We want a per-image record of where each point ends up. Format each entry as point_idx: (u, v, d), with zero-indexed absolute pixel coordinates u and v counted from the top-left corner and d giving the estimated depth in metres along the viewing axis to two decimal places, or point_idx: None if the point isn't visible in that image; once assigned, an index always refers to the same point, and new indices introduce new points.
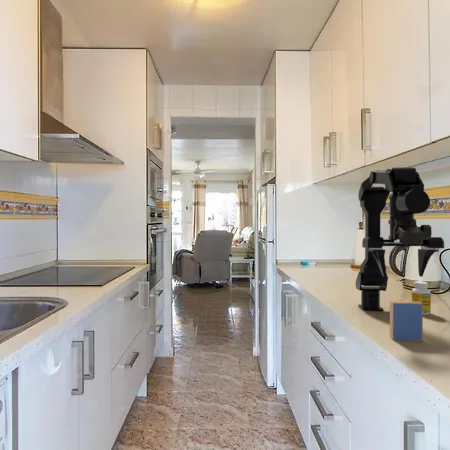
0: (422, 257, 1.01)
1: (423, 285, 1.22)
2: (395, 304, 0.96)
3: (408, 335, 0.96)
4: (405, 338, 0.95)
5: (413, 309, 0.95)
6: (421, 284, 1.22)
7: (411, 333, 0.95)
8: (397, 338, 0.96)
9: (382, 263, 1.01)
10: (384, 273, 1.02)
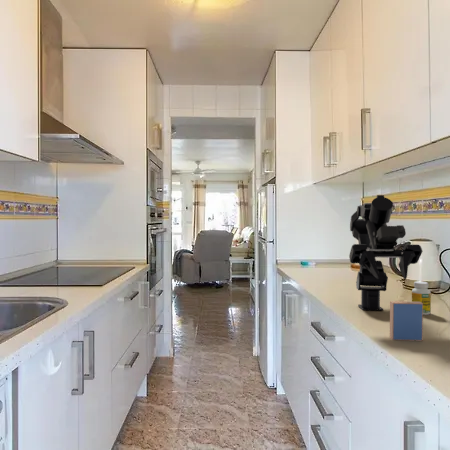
0: (402, 262, 1.09)
1: (423, 285, 1.22)
2: (395, 304, 0.96)
3: (408, 335, 0.96)
4: (405, 338, 0.95)
5: (413, 309, 0.95)
6: (421, 284, 1.22)
7: (411, 333, 0.95)
8: (397, 338, 0.96)
9: (373, 265, 1.08)
10: (377, 274, 1.07)
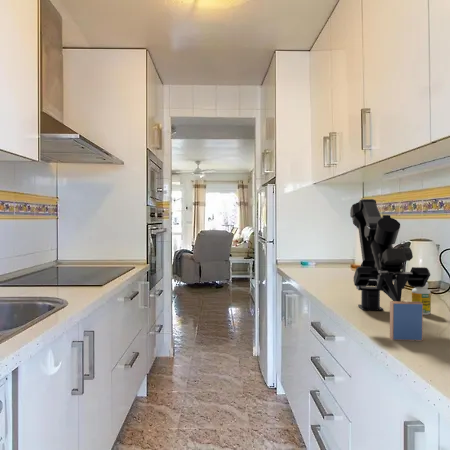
0: (396, 286, 1.05)
1: None
2: (395, 304, 0.96)
3: (408, 335, 0.96)
4: (405, 338, 0.95)
5: (413, 309, 0.95)
6: None
7: (411, 333, 0.95)
8: (397, 338, 0.96)
9: (392, 289, 1.03)
10: (397, 299, 1.02)
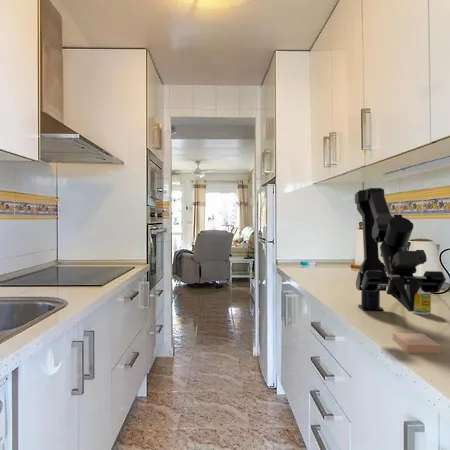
0: (408, 292, 0.96)
1: None
2: None
3: None
4: None
5: None
6: None
7: None
8: None
9: (405, 295, 0.95)
10: (410, 306, 0.93)
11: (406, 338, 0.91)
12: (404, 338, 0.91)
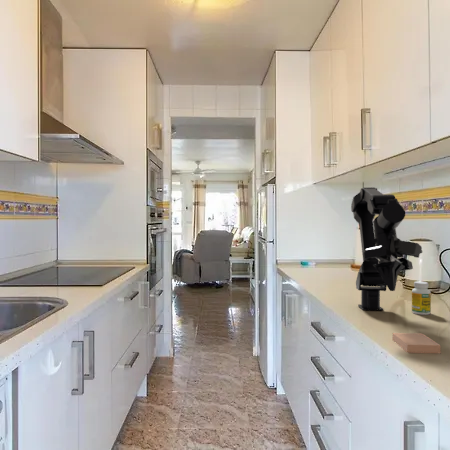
0: None
1: (423, 285, 1.22)
2: None
3: None
4: None
5: None
6: (421, 284, 1.22)
7: None
8: None
9: (393, 277, 1.06)
10: (394, 287, 1.06)
11: (406, 338, 0.91)
12: (404, 338, 0.91)
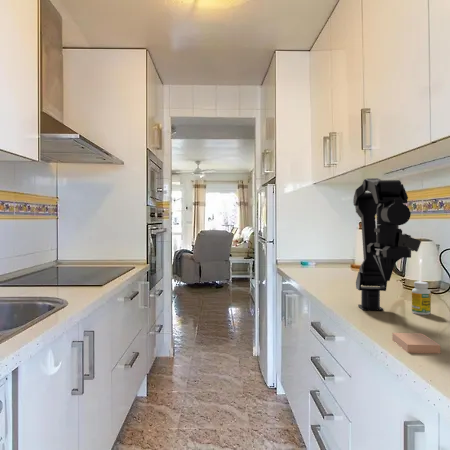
0: None
1: (423, 285, 1.22)
2: None
3: None
4: None
5: None
6: (421, 284, 1.22)
7: None
8: None
9: None
10: None
11: (406, 338, 0.91)
12: (404, 338, 0.91)
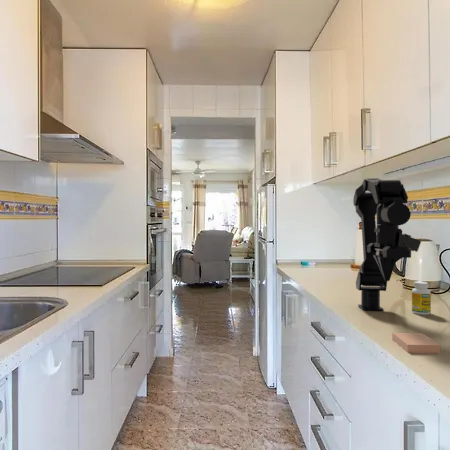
0: None
1: (423, 285, 1.22)
2: None
3: None
4: None
5: None
6: (421, 284, 1.22)
7: None
8: None
9: None
10: None
11: (406, 338, 0.91)
12: (404, 338, 0.91)
